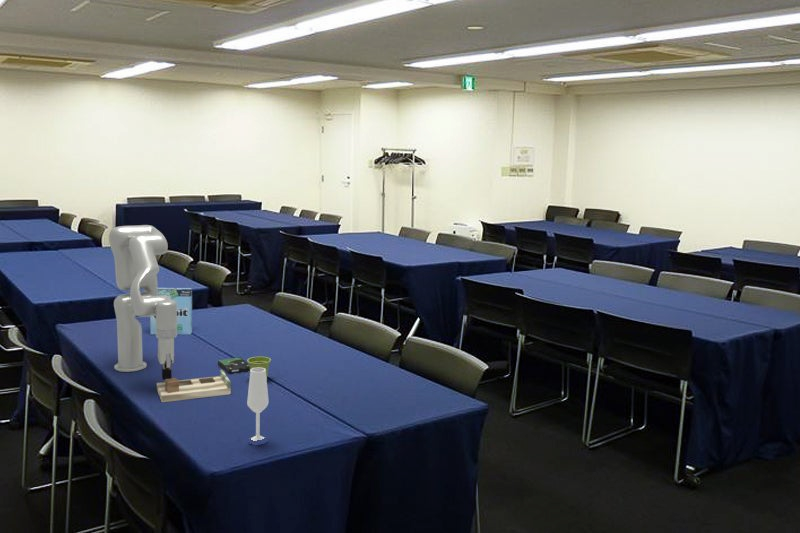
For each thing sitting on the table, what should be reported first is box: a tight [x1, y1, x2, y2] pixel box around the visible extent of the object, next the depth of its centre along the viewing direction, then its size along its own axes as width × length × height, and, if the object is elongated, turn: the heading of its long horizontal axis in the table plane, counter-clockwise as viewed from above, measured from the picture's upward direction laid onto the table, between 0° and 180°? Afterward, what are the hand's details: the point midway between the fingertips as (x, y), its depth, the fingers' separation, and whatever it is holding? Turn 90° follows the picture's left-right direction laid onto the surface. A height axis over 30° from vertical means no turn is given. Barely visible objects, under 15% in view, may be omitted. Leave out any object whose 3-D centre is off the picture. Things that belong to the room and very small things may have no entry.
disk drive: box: [217, 356, 250, 375], centre depth 289 cm, size 10×3×15 cm
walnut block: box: [164, 377, 179, 393], centre depth 252 cm, size 4×4×4 cm
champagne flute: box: [246, 367, 270, 441], centre depth 216 cm, size 7×7×24 cm
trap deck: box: [156, 369, 232, 403], centre depth 259 cm, size 15×25×5 cm, turn 116°
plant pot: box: [246, 356, 272, 379], centre depth 274 cm, size 9×9×9 cm
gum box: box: [149, 287, 193, 336], centre depth 336 cm, size 20×5×23 cm, turn 99°
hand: (166, 378), depth 258 cm, fingers closed
